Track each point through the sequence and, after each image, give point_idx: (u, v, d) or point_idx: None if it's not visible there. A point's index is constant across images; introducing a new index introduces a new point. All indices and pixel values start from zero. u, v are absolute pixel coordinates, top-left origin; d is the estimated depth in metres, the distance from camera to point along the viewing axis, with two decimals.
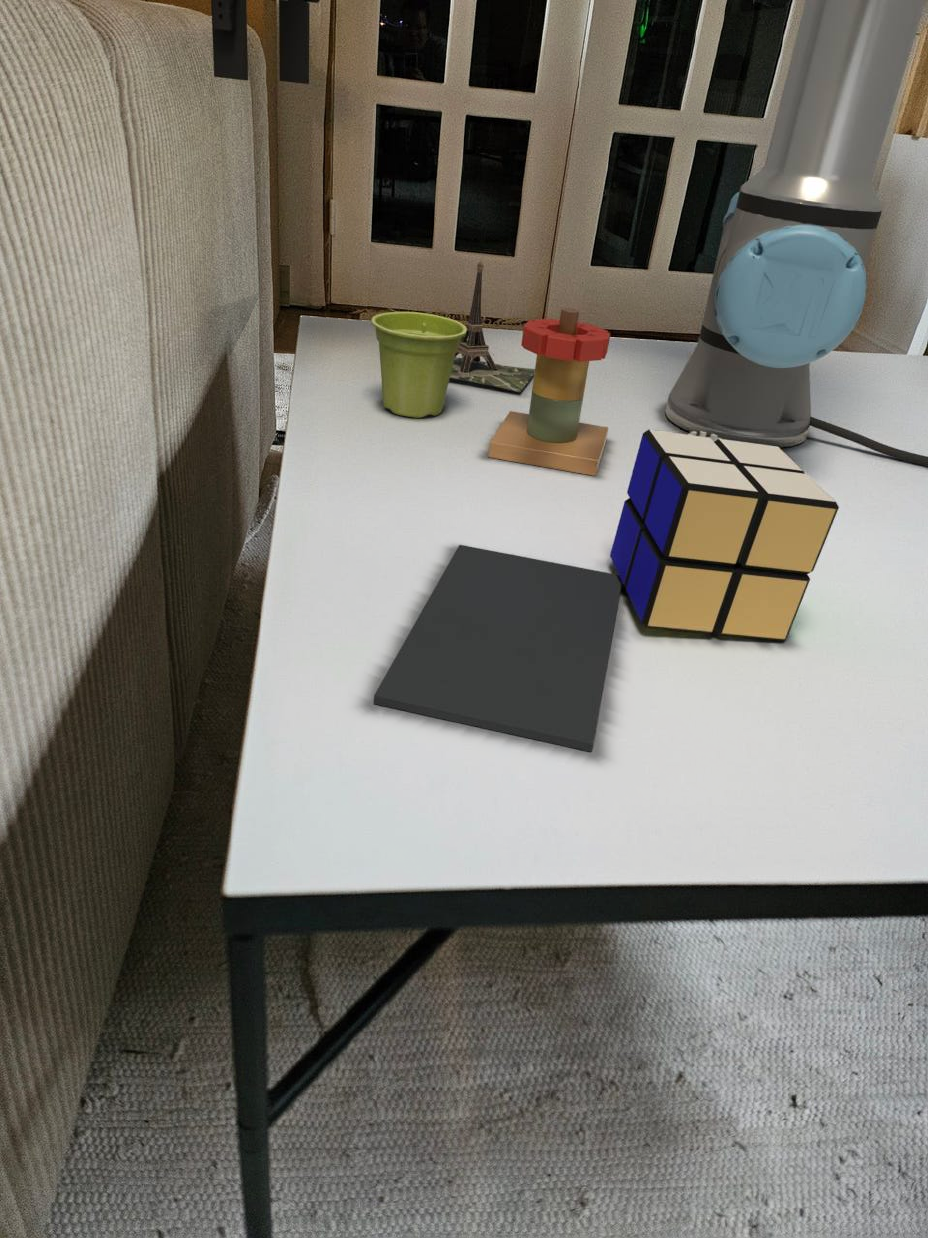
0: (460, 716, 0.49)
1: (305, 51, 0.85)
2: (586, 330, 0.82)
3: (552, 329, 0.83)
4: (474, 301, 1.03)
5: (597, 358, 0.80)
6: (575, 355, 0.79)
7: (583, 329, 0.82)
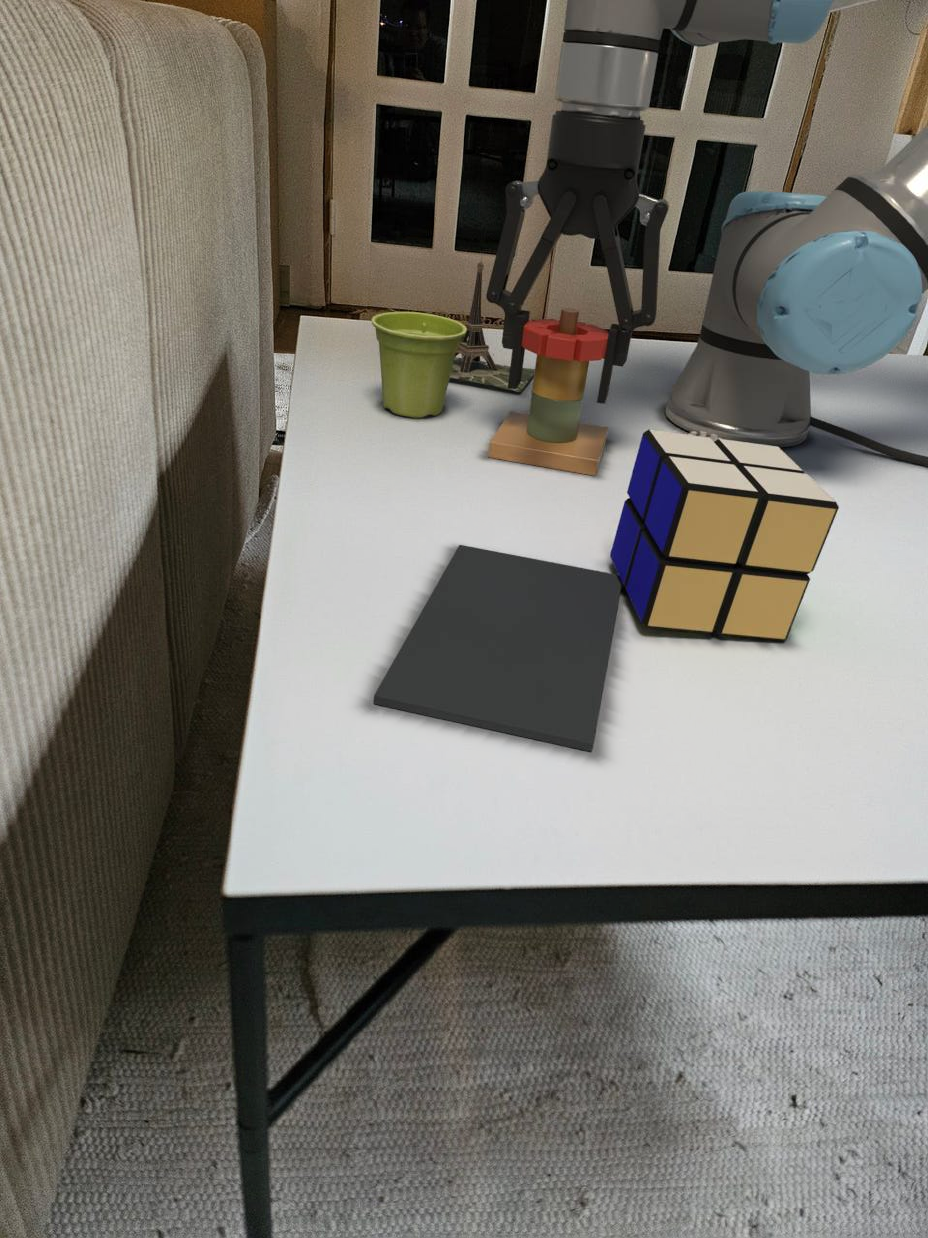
0: (460, 716, 0.49)
1: None
2: (586, 330, 0.82)
3: (552, 329, 0.83)
4: (474, 301, 1.03)
5: (597, 358, 0.80)
6: (575, 355, 0.79)
7: (583, 329, 0.82)
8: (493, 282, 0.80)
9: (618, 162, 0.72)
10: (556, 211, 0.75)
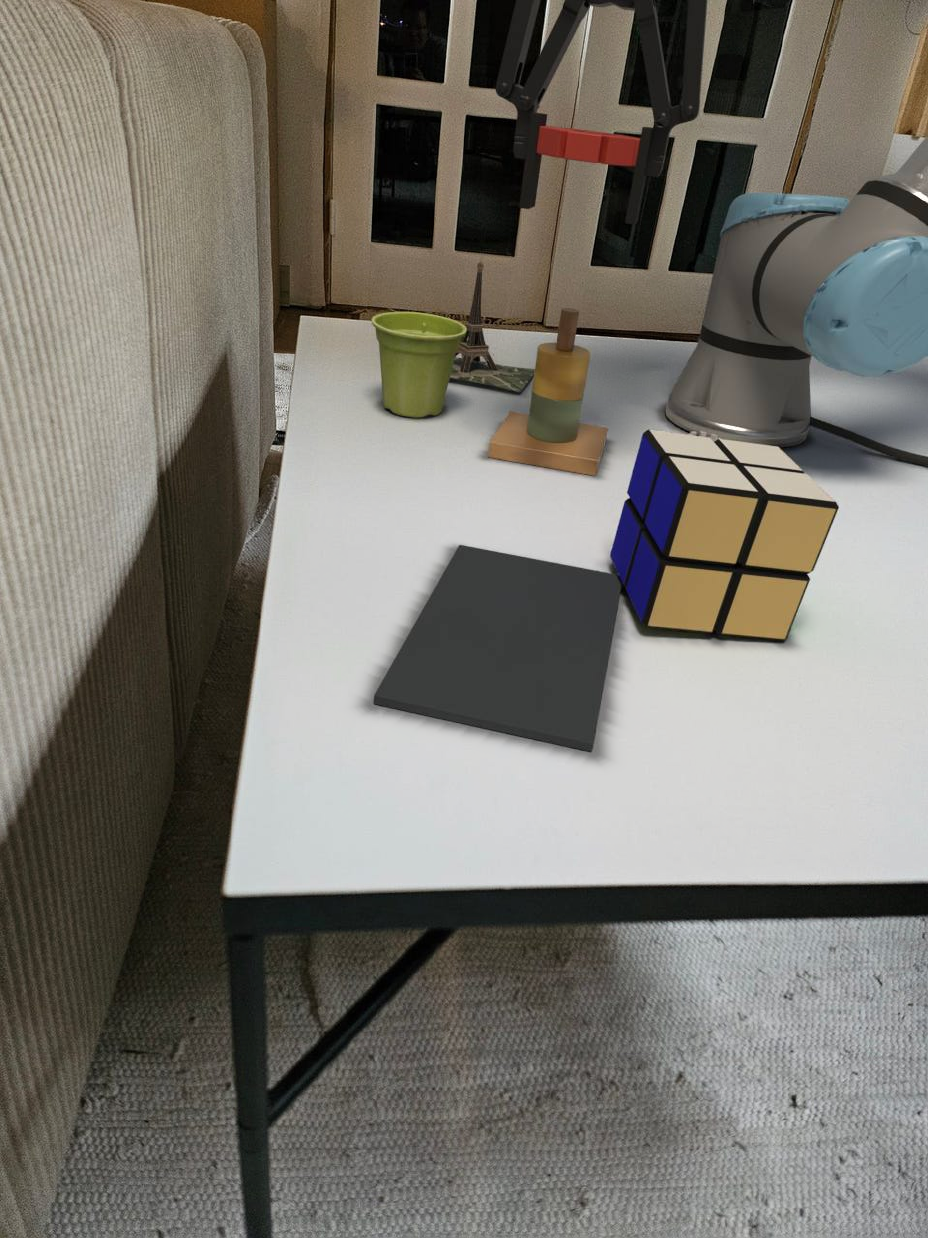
0: (460, 716, 0.49)
1: None
2: (614, 135, 0.69)
3: None
4: (474, 301, 1.03)
5: (627, 163, 0.67)
6: (601, 157, 0.66)
7: (610, 135, 0.69)
8: (503, 70, 0.67)
9: None
10: None
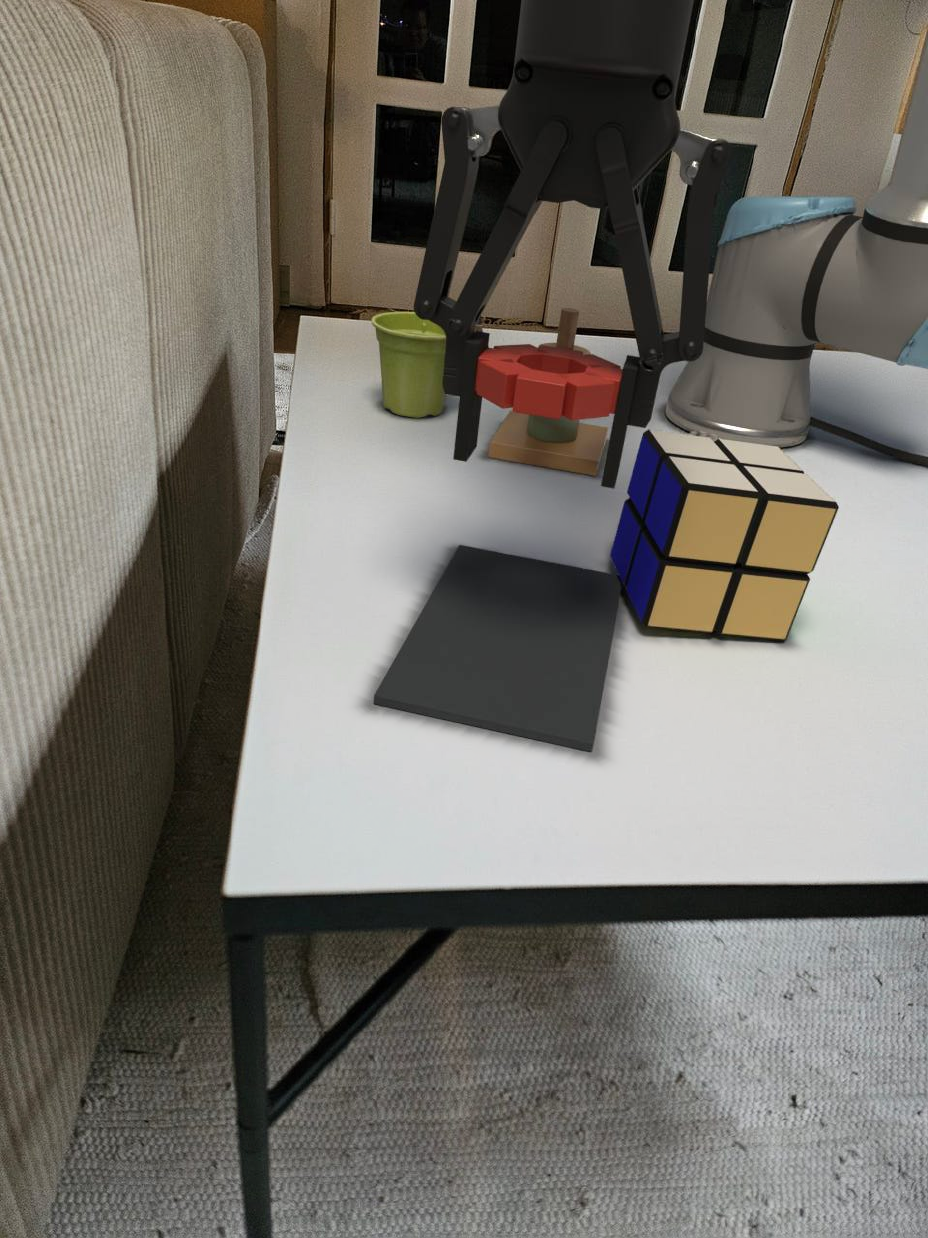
0: (460, 716, 0.49)
1: None
2: (584, 365, 0.49)
3: (527, 362, 0.50)
4: None
5: (602, 414, 0.47)
6: (565, 409, 0.46)
7: (579, 363, 0.49)
8: (424, 284, 0.47)
9: (644, 62, 0.38)
10: (531, 158, 0.42)
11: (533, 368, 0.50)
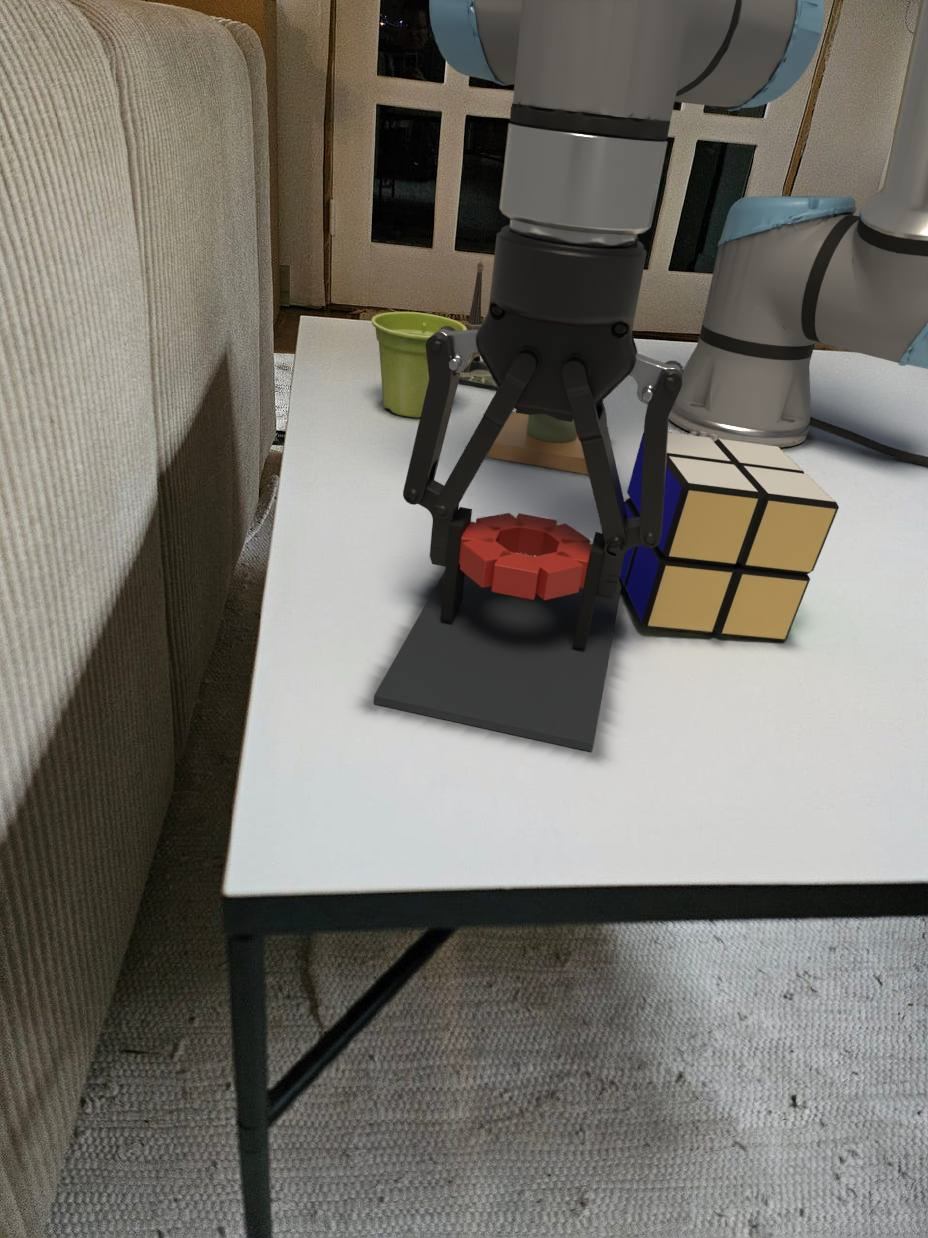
0: (460, 716, 0.49)
1: None
2: (557, 540, 0.54)
3: (506, 535, 0.55)
4: (474, 301, 1.03)
5: (572, 591, 0.52)
6: (538, 589, 0.52)
7: (552, 537, 0.55)
8: (412, 476, 0.52)
9: (602, 316, 0.44)
10: (505, 381, 0.48)
11: (511, 539, 0.55)
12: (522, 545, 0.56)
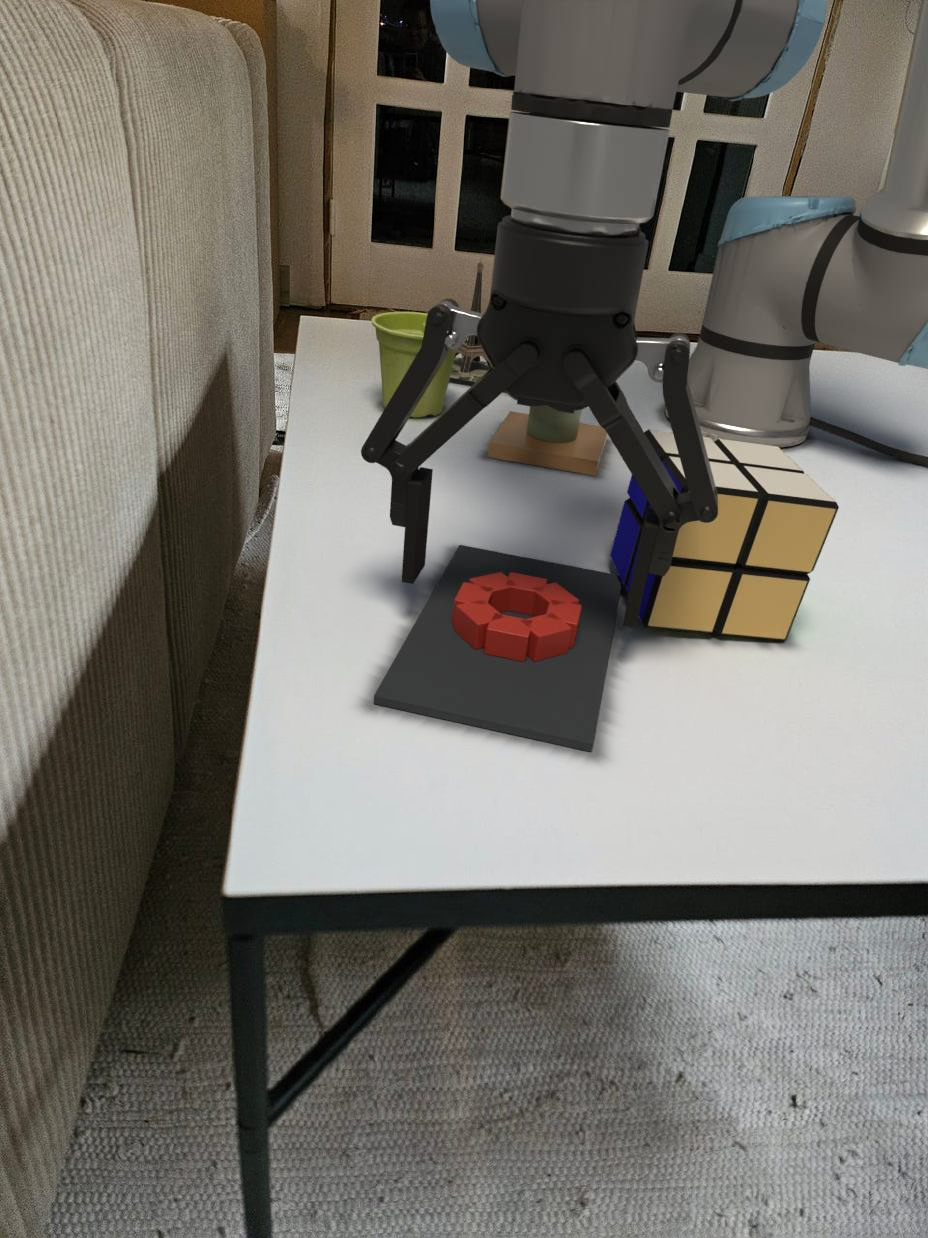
0: (460, 716, 0.49)
1: (631, 586, 0.52)
2: (547, 600, 0.56)
3: (498, 596, 0.57)
4: (474, 301, 1.03)
5: (561, 652, 0.54)
6: (529, 651, 0.54)
7: (542, 598, 0.57)
8: (376, 435, 0.51)
9: (603, 306, 0.44)
10: (501, 365, 0.47)
11: (503, 599, 0.58)
12: (514, 604, 0.58)
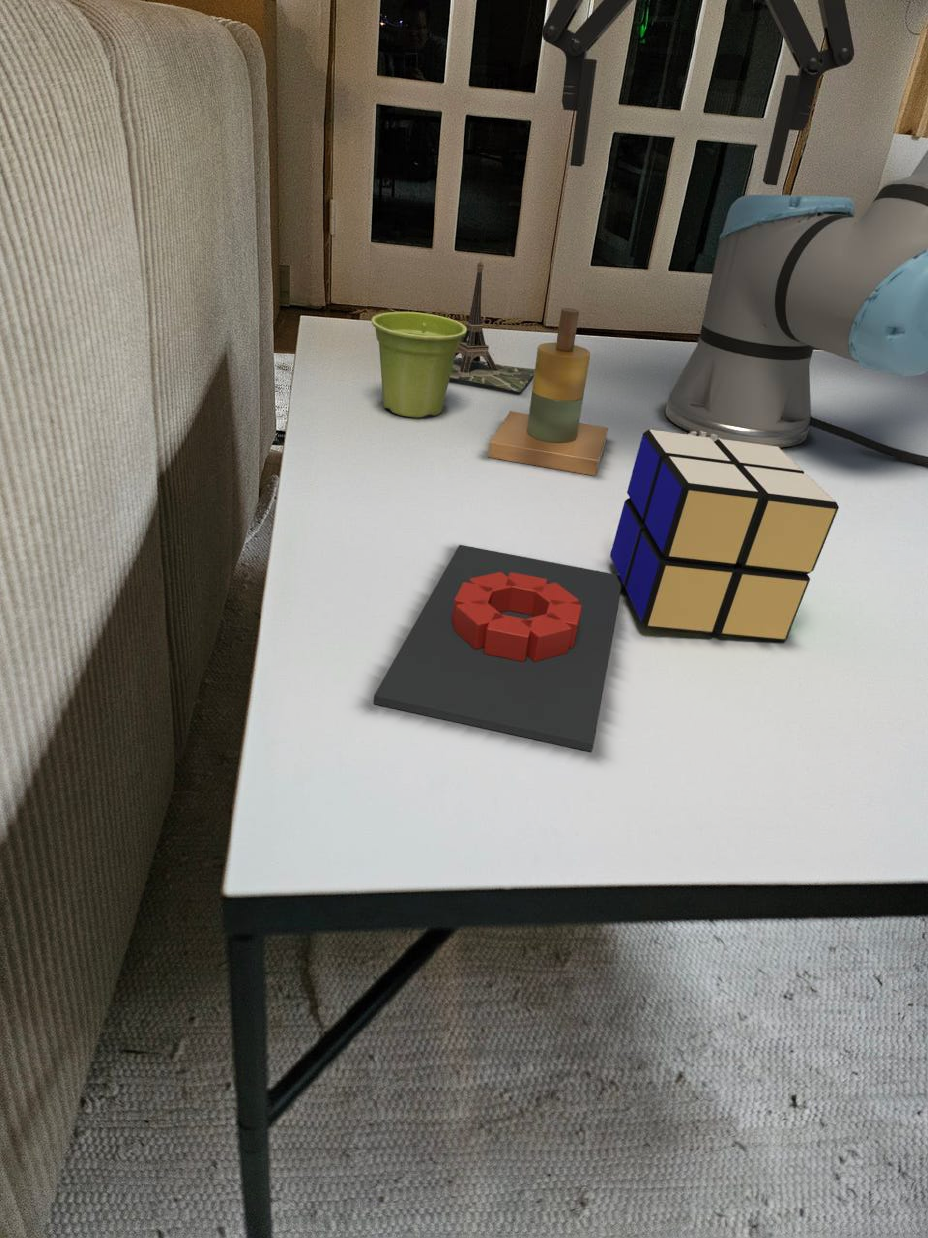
0: (460, 716, 0.49)
1: (775, 141, 0.61)
2: (547, 600, 0.56)
3: (498, 596, 0.57)
4: (474, 301, 1.03)
5: (561, 652, 0.54)
6: (529, 651, 0.54)
7: (542, 598, 0.57)
8: (556, 12, 0.60)
9: None
10: None
11: (503, 599, 0.58)
12: (514, 604, 0.58)
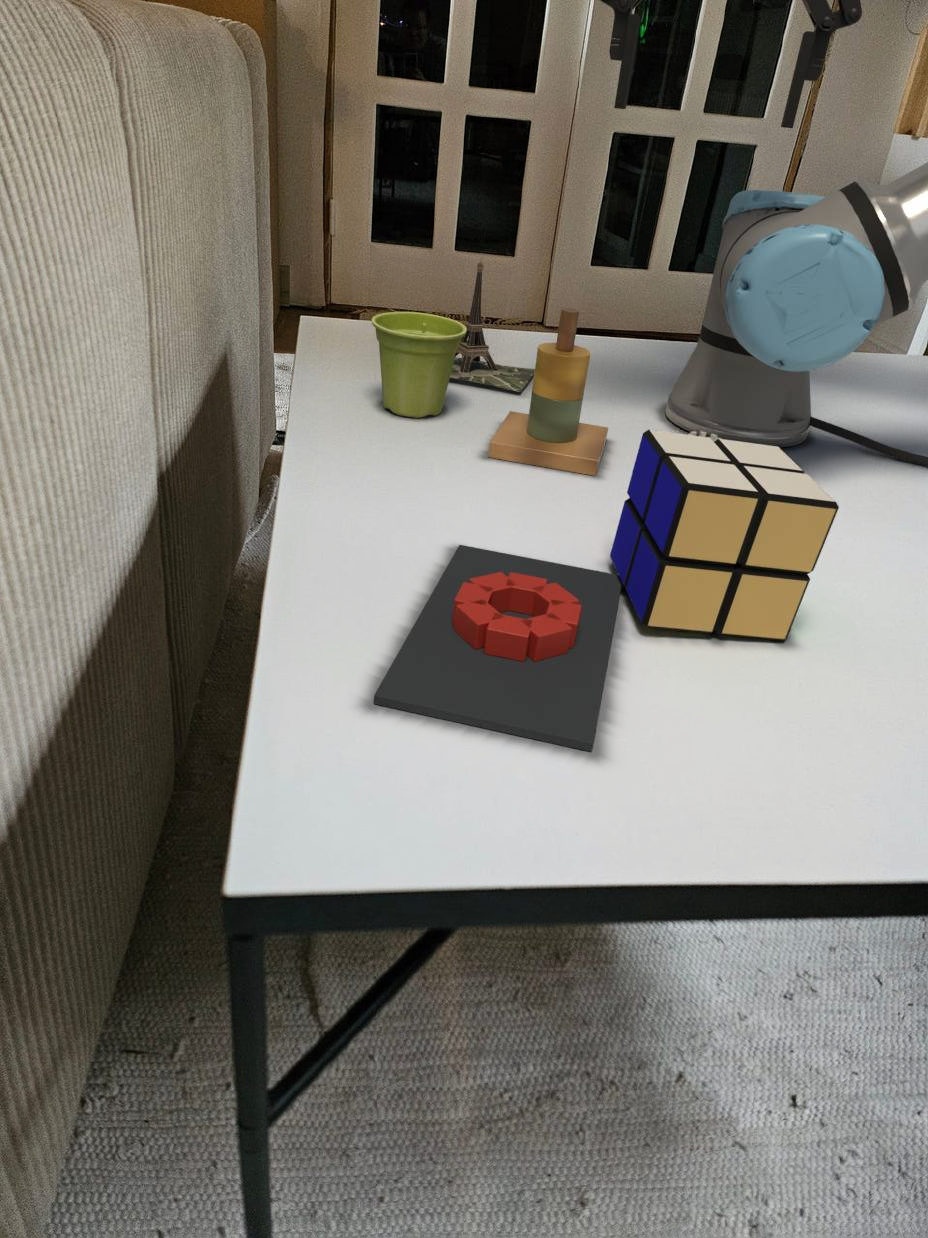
0: (460, 716, 0.49)
1: (792, 89, 0.71)
2: (547, 600, 0.56)
3: (498, 596, 0.57)
4: (474, 301, 1.03)
5: (561, 652, 0.54)
6: (529, 651, 0.54)
7: (542, 598, 0.57)
8: None
9: None
10: None
11: (503, 599, 0.58)
12: (514, 604, 0.58)
